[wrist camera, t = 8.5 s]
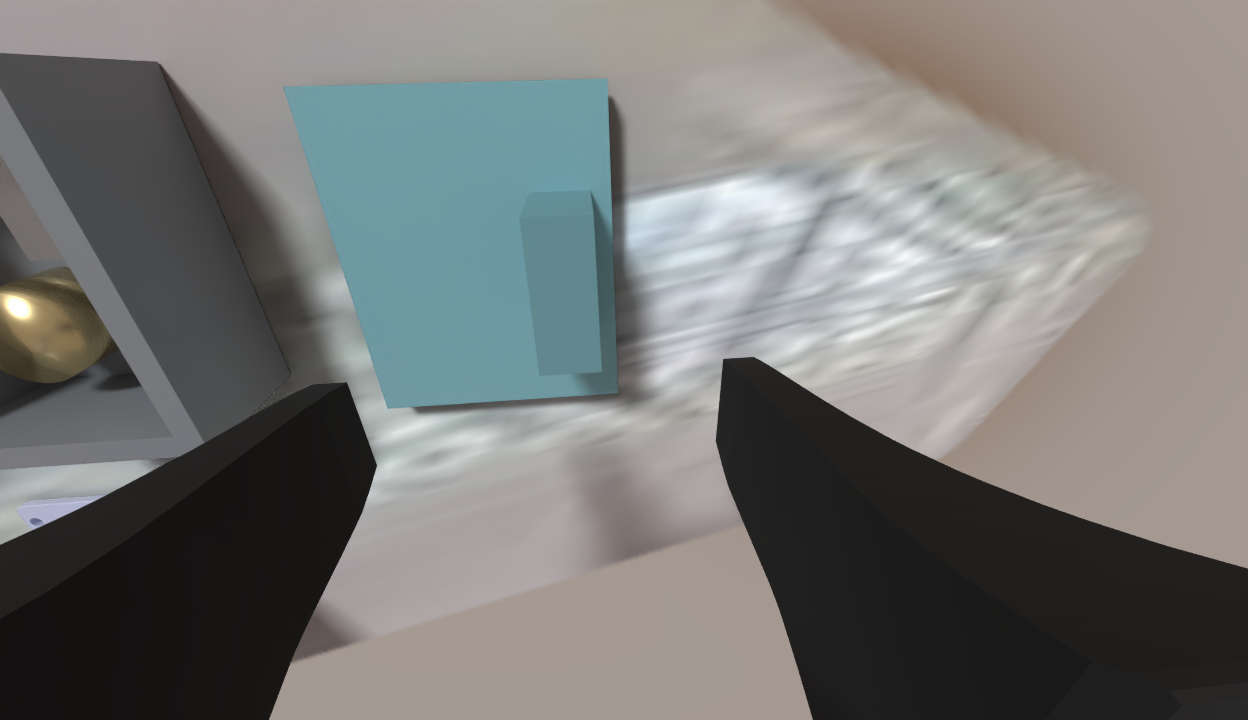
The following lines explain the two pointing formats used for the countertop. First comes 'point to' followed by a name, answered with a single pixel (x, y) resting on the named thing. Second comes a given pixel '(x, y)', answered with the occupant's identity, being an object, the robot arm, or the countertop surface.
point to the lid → (471, 233)
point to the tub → (127, 269)
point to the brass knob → (50, 328)
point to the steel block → (24, 219)
